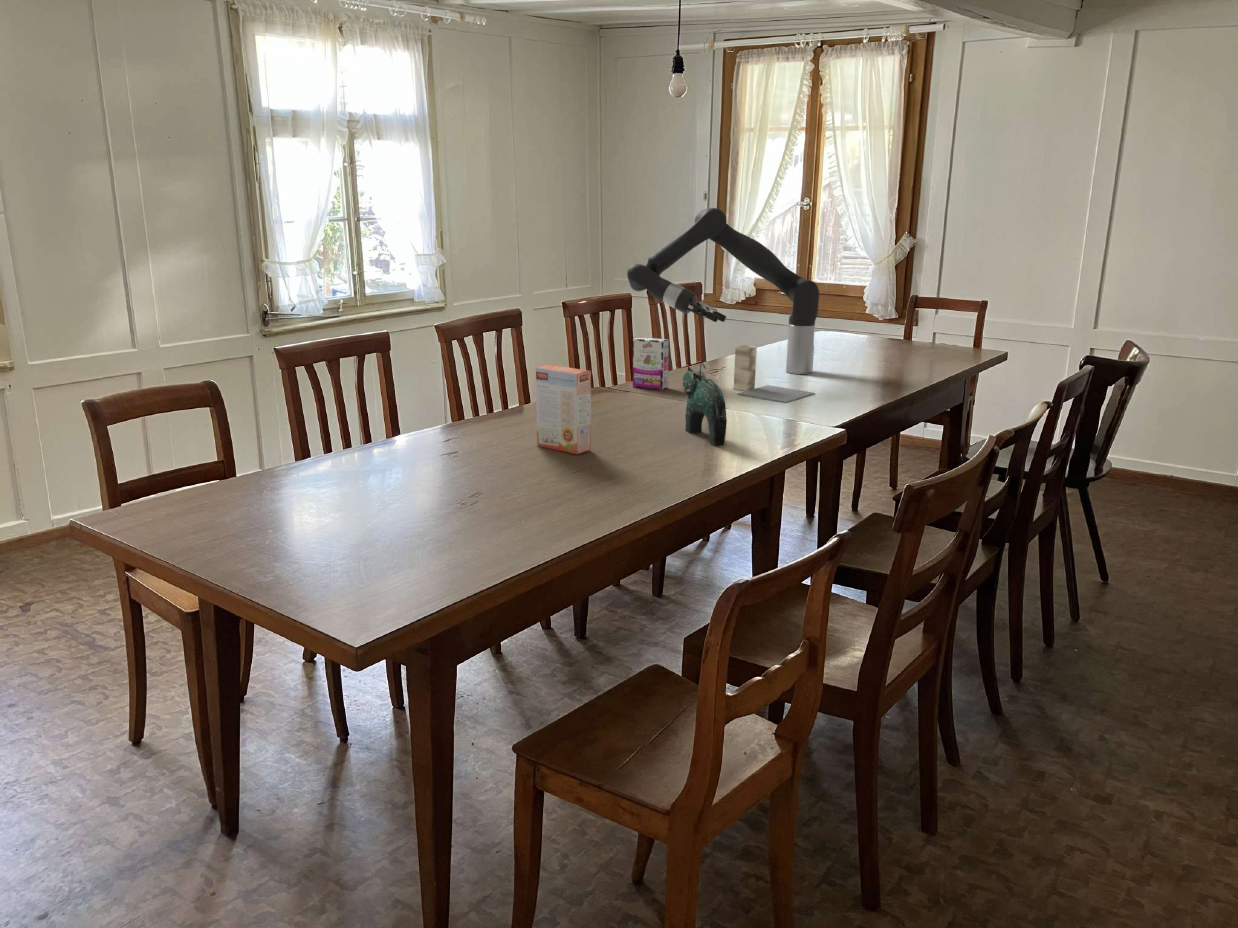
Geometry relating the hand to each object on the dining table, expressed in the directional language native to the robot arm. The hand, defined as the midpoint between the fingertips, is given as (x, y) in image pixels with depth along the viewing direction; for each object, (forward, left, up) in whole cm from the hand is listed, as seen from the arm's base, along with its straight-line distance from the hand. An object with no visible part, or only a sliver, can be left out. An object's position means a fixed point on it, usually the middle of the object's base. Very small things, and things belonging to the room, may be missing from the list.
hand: (721, 319), depth 322 cm
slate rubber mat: (-2, +22, -22) cm, 31 cm away
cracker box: (+92, +17, -23) cm, 97 cm away
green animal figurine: (+58, +37, -23) cm, 73 cm away
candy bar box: (+18, -15, -23) cm, 33 cm away
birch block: (-2, +9, -22) cm, 24 cm away
